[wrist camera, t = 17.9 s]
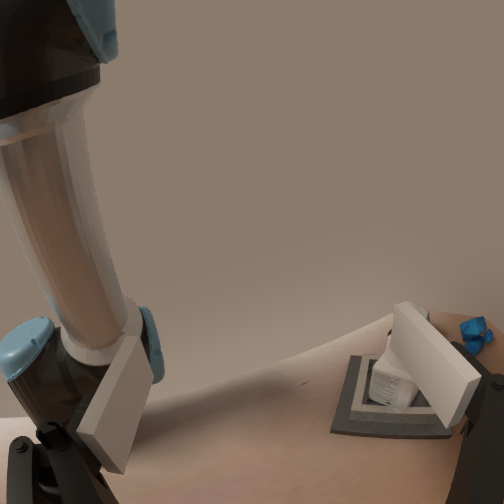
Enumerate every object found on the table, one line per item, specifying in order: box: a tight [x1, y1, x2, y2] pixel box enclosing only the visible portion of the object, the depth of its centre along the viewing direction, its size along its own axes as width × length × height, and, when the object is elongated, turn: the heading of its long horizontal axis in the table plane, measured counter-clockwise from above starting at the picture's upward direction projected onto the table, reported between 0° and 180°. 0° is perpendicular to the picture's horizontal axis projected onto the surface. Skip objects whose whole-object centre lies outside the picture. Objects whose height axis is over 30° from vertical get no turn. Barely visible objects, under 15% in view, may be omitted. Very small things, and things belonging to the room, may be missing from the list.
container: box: [368, 329, 420, 407], centre depth 40 cm, size 8×8×13 cm
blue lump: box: [460, 316, 493, 356], centre depth 46 cm, size 7×9×12 cm
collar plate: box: [330, 354, 452, 439], centre depth 42 cm, size 20×20×4 cm
